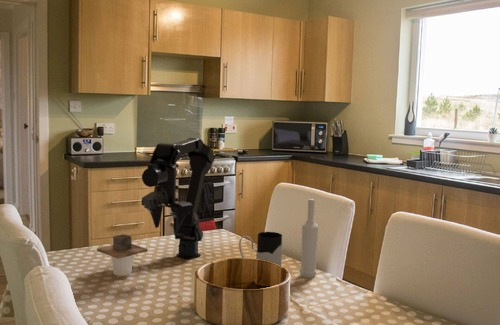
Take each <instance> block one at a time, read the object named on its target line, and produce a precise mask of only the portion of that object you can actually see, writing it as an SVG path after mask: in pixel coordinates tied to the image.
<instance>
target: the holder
mask: <svg viewBox="0 0 500 325" xmlns="http://www.w3.org/2000/svg"><path fill="white" fill-rule="evenodd" d="M243 238H248V239H249V241H250V242H251V249H252V251H253V252H256V256H255V257H256V258H255V260H256V259H260V260H265V261H269V262H272V263H275V264H278V265H280V266H281V267H282V261H283V259H282V258H283V234H282V233H280V232H276V231H261V232H258V234H257V248H256V249H254V240H253V239H252V238H251V237H250V236H248V235H243V236H242V237H241V238H239V242H238V248H239V249H238V250H239V252H240V255H241V258H242V259H243V258H245V256H244V253H243V252H242V246H241V243H242V240H243Z"/></svg>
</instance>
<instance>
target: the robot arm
mask: <svg viewBox="0 0 500 325" xmlns="http://www.w3.org/2000/svg"><path fill="white" fill-rule="evenodd" d="M152 152H153V153H152V155H151V158H150V160H149V163H148V164H147V168H146V169H144V170H143V172H142V174H141V180H142V181H141V182H143V185H145V186H146V187H148V188H153V187H154V188H153V191H151V192H149V193H148V194H146V195H144V196H143V197H142V198H141V206H142V207H144V209H146V210H147V211H148V212H149V213H150V216H151V218H152V222H153V225H154V227H155V228H156V229H157V228H160V227H159V226H160V222H161V218H162V214H163V213H162V212H163V208H164V207H165V208H169V209H170V211H171V212H170V215H171V216H172V218H173V234H174V239H175V240H179V244H178V253H176V254H175V256H176V257H179V258H182V259H184V260H185V259H186V260H191V259H194V258H198V257H201V256H202V254H201V253H199V242H202V239H203V236H204V232H203V230H202V229H201V227H200V219H199V216H198V210H199V204H200V202H201V201H200V199H201V195H202V190H203V186H204V181H205V178H206V177H205V176H206V175H207V173H208V172H209V171H210V170H211V169H212V167H213V163H214V162H215V154H214V151H213V150H212V148H211V147H209V145H207V144H206V143H205V142H203V140H202V139H201V138H197V137H189V138H186V139H184V140H183V139H182V140H180V141H177V142H174V143H166V142H165V143H162V142H159V143H157V144H156V146H155V148H154V149H153V151H152ZM185 154H186V156H187V158H189V162H188V163H189V167H190V169H191V175H190V178H189V182H188V187H187V191H186V195H185V196H186V197H185V199H184V200H185V201H184V200H181V201H179V198H178V197H176V194H177V190H178V189H179V185H177V169H178V168H179V167H180V166H179V165H180V164H178V163H177V162H178V161H179V160H181V158H182V156H183V155H185Z"/></svg>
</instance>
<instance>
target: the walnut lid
mask: <svg viewBox="0 0 500 325" xmlns="http://www.w3.org/2000/svg"><path fill="white" fill-rule="evenodd" d="M112 240H113V241H112V245H108V246H104V247H99V248H96V250H97V253H98V252H99V253H101V254H104V255H107V256H110V257H111V258H112V257H115V258H118V259H119V258H123V257H127V256H131V255H133V256H135V255H138V254H142V253H146V252H148V248H145V247H142V246H139V245H136V244H133V243H132V236H131V235H127V234H124V233H123V234H118V235H113V237H112Z"/></svg>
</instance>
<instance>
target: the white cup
mask: <svg viewBox="0 0 500 325" xmlns="http://www.w3.org/2000/svg"><path fill="white" fill-rule="evenodd" d="M133 260H134V255H131V256H127V257H123V258H119V259H118V258H115V257H112V256H111V264H112V273H113V275H115V276H118V277H119V276H120V277H121V276H127V275H128V276H129V275H130V274H132V269H133Z"/></svg>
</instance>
